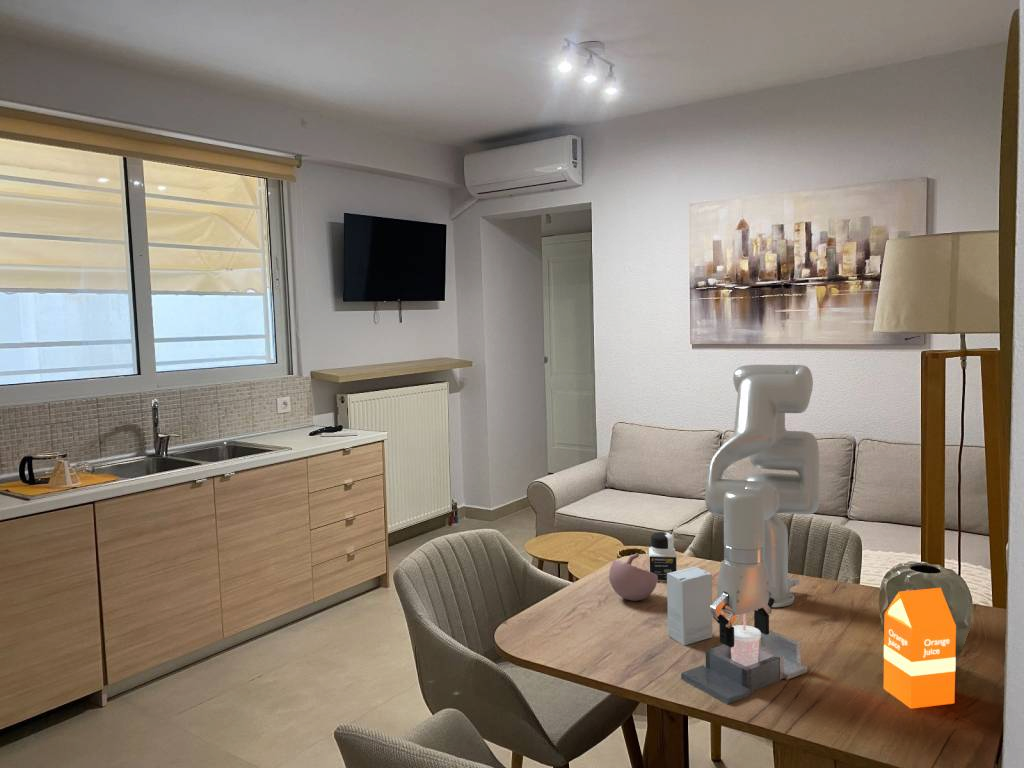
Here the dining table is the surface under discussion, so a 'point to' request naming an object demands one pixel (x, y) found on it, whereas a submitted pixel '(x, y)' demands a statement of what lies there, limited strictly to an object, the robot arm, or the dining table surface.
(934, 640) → the orange juice
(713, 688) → the fixed leaf
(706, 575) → the skincare box
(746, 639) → the beverage cup
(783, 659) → the gray u-channel trough
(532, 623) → the dining table surface
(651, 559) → the medicine bottle
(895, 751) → the dining table surface
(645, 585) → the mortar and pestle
